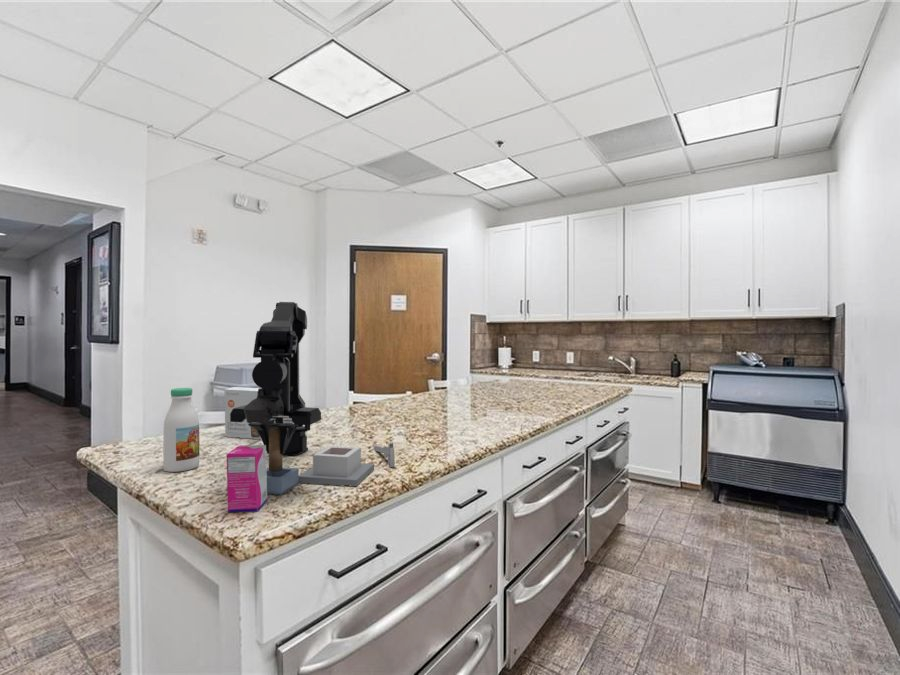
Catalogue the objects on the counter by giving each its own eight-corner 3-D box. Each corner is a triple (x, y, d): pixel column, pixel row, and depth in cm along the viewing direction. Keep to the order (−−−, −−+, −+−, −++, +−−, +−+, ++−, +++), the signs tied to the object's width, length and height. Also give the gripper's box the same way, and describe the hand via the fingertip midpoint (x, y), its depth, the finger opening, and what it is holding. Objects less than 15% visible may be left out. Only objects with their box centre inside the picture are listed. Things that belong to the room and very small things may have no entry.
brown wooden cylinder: (266, 471, 95) (266, 425, 94) (273, 467, 97) (273, 422, 97) (278, 472, 94) (278, 426, 94) (284, 468, 97) (285, 423, 97)
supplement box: (238, 501, 89) (238, 445, 88) (268, 500, 89) (268, 444, 89) (225, 513, 83) (225, 452, 83) (258, 512, 83) (258, 452, 83)
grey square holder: (297, 482, 99) (297, 456, 99) (321, 466, 111) (321, 443, 111) (356, 486, 97) (356, 460, 97) (374, 469, 109) (374, 446, 109)
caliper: (394, 468, 111) (394, 444, 111) (390, 469, 110) (390, 444, 110) (376, 448, 130) (376, 427, 130) (372, 449, 129) (373, 428, 129)
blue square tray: (251, 493, 93) (251, 476, 93) (270, 481, 100) (270, 466, 100) (281, 495, 92) (281, 478, 92) (298, 483, 99) (298, 468, 99)
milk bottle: (161, 474, 104) (161, 391, 104) (165, 465, 111) (165, 387, 111) (198, 470, 108) (198, 389, 108) (200, 461, 115) (200, 386, 114)
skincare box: (223, 437, 141) (223, 388, 141) (235, 433, 146) (235, 386, 146) (281, 441, 136) (281, 391, 136) (291, 437, 141) (291, 388, 141)
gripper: (212, 386, 89) (212, 462, 89) (297, 389, 86) (296, 467, 86) (245, 380, 100) (245, 448, 100) (322, 382, 97) (322, 452, 97)
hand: (275, 453), depth 96 cm, fingers closed on brown wooden cylinder, 3 cm apart
